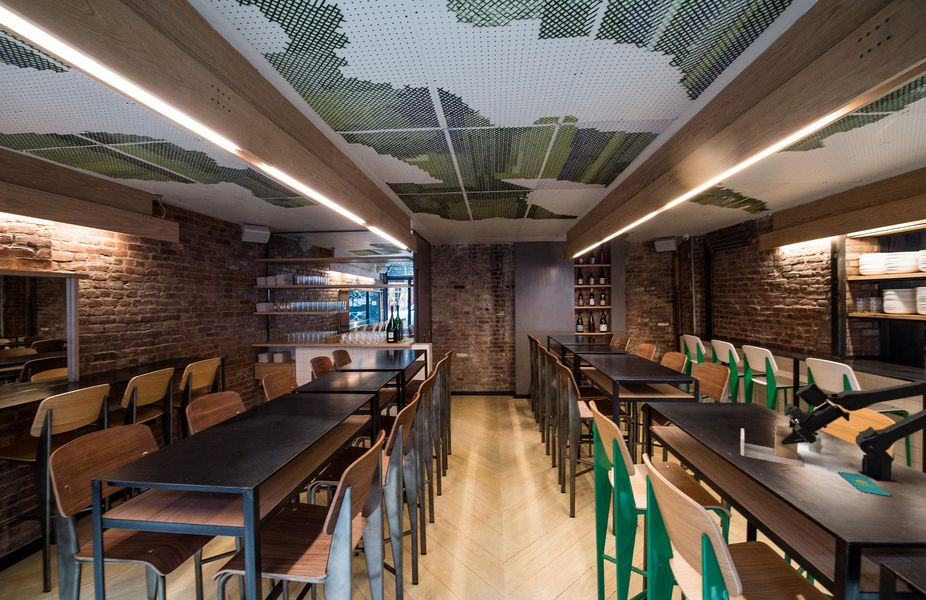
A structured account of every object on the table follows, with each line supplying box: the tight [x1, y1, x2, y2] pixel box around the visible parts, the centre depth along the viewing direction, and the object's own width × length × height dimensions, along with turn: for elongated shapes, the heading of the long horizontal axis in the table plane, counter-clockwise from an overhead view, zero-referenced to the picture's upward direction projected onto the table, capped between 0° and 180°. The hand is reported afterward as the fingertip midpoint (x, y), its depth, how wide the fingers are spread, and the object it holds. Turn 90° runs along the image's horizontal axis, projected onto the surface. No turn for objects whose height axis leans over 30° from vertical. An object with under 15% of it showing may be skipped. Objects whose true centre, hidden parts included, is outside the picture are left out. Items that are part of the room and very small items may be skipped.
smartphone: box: [837, 471, 892, 498], centre depth 127 cm, size 7×1×15 cm
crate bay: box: [740, 428, 806, 468], centre depth 149 cm, size 18×15×7 cm
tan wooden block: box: [774, 424, 799, 460], centre depth 146 cm, size 6×6×10 cm
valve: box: [807, 431, 823, 456], centre depth 155 cm, size 7×7×12 cm
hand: (781, 440), depth 147 cm, fingers closed on tan wooden block, 6 cm apart
